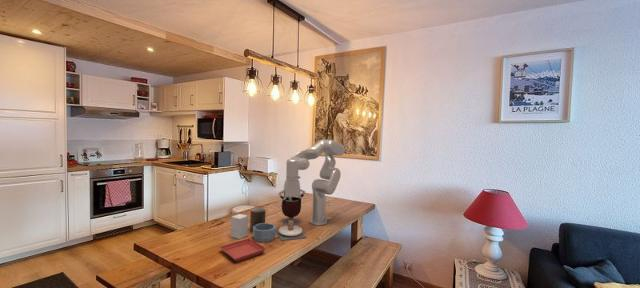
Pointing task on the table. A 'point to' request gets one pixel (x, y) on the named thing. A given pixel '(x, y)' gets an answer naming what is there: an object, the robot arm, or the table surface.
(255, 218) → the grey cylinder
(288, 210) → the mate gourd
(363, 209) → the table surface
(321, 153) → the robot arm
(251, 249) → the plant saucer
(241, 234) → the supplement box
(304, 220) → the table surface
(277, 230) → the mat
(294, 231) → the lid
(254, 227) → the bowl
